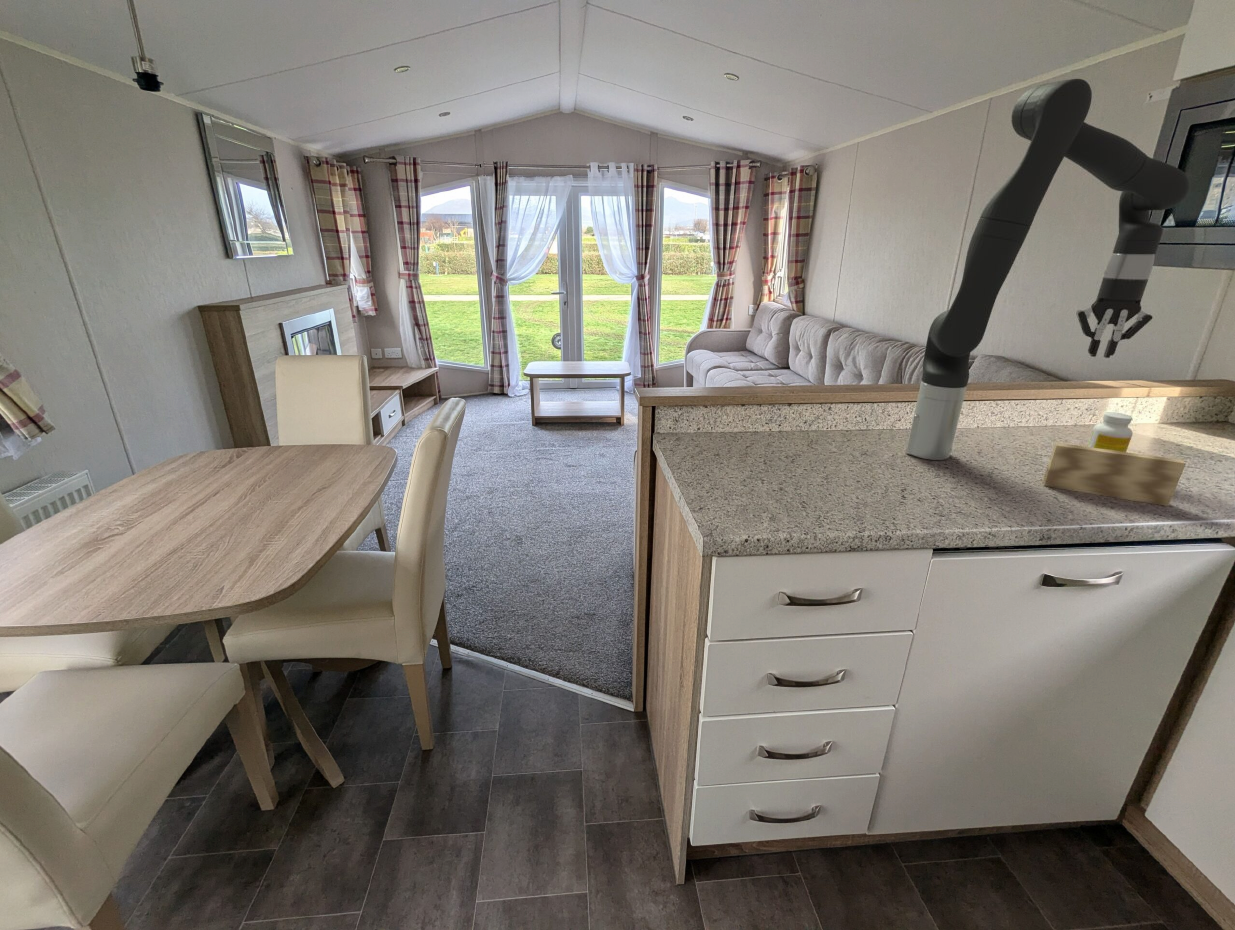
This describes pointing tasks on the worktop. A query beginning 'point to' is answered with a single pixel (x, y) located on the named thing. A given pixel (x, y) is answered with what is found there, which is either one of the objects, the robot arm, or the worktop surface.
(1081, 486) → the wall board
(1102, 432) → the supplement bottle
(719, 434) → the worktop surface
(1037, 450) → the worktop surface
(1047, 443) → the worktop surface
